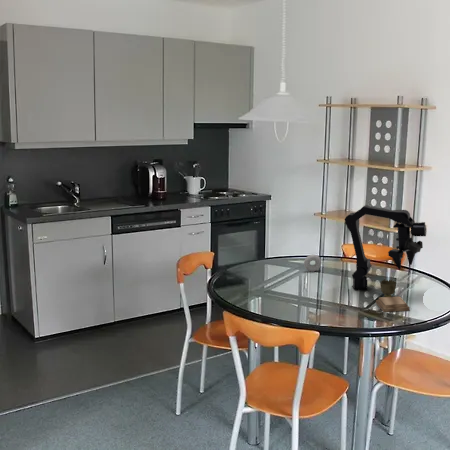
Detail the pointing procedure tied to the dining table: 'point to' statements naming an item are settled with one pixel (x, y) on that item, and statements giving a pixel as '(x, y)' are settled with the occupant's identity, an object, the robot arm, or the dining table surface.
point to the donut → (309, 259)
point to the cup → (388, 287)
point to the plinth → (392, 304)
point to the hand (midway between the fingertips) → (405, 266)
